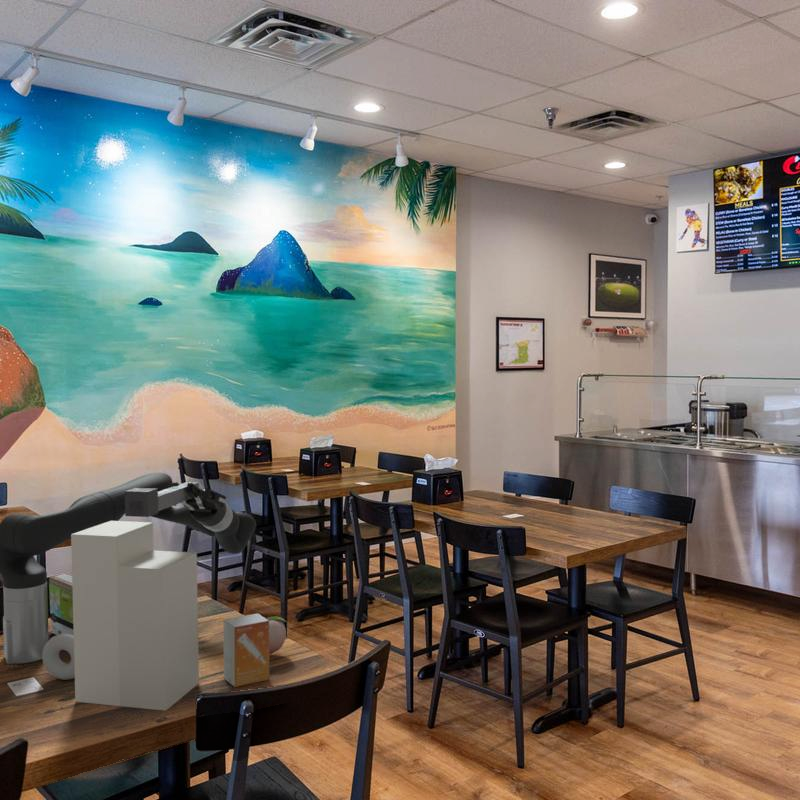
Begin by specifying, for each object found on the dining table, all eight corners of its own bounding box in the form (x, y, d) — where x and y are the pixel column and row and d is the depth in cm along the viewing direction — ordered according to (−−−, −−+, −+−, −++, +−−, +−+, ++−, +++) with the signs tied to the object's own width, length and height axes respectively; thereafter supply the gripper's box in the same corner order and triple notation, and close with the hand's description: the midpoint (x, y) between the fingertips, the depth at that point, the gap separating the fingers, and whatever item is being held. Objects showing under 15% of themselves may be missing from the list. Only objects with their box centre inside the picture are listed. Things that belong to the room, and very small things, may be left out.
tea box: (49, 634, 206) (47, 575, 206) (86, 624, 214) (85, 568, 213) (79, 647, 197) (77, 586, 196) (117, 636, 204) (116, 577, 204)
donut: (39, 681, 176) (38, 635, 175) (48, 675, 179) (47, 630, 179) (83, 683, 175) (82, 637, 174) (91, 677, 178) (90, 632, 177)
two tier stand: (114, 675, 179) (111, 520, 177) (199, 683, 174) (196, 524, 173) (75, 701, 165) (71, 534, 164) (165, 710, 161) (162, 538, 159)
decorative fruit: (253, 666, 184) (253, 622, 183) (242, 654, 191) (241, 612, 191) (293, 658, 188) (292, 615, 188) (280, 647, 196) (280, 606, 195)
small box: (234, 688, 172) (233, 626, 171) (223, 678, 177) (222, 618, 176) (270, 679, 176) (269, 620, 175) (258, 670, 181) (257, 612, 181)
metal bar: (182, 495, 187) (182, 473, 187) (203, 495, 186) (202, 473, 186) (125, 516, 164) (124, 491, 163) (148, 516, 163) (147, 491, 162)
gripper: (236, 528, 193) (206, 503, 178) (181, 525, 196) (147, 501, 181) (242, 497, 196) (213, 471, 181) (188, 496, 199) (155, 469, 184)
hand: (181, 486), depth 181 cm, fingers closed on metal bar, 3 cm apart
